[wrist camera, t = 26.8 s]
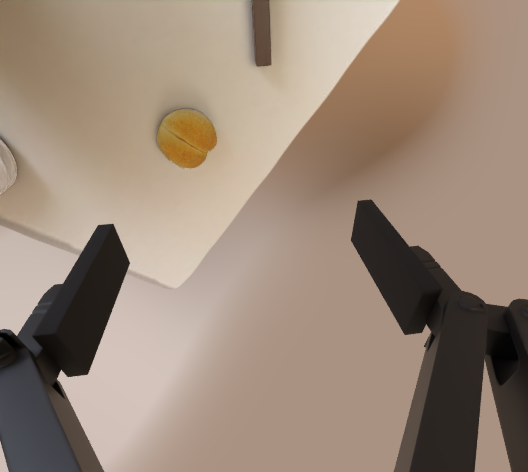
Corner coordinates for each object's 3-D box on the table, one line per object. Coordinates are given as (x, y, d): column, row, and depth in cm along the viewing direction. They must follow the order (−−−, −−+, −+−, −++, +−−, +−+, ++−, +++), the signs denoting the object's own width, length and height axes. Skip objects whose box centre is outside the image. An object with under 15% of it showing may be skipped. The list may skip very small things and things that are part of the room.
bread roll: (225, 129, 47) (225, 137, 43) (194, 170, 50) (192, 181, 47) (179, 93, 43) (176, 99, 40) (149, 141, 46) (144, 150, 43)
